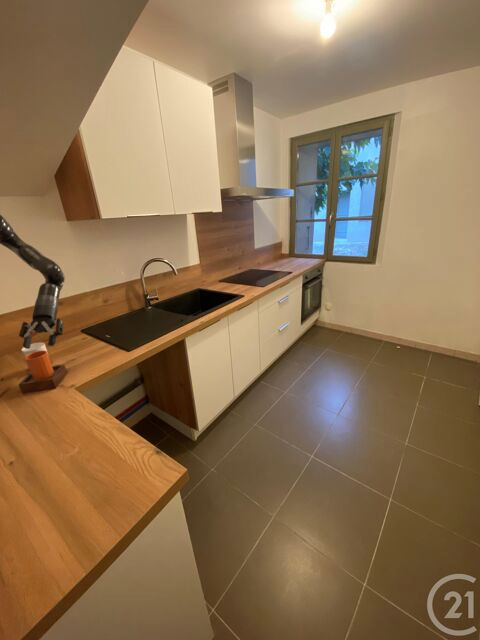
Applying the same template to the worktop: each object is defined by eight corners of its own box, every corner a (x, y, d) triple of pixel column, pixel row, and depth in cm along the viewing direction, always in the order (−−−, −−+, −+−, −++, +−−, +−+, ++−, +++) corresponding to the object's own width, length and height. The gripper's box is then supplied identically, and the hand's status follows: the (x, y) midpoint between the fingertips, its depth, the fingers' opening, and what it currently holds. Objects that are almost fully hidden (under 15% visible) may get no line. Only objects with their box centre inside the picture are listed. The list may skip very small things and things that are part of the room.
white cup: (32, 374, 106) (23, 353, 102) (28, 368, 111) (19, 347, 107) (54, 366, 111) (46, 345, 108) (49, 360, 116) (42, 340, 113)
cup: (29, 382, 95) (20, 360, 92) (38, 372, 102) (30, 352, 98) (49, 379, 97) (41, 357, 93) (57, 369, 103) (49, 349, 99)
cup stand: (22, 393, 94) (18, 384, 93) (37, 377, 104) (34, 368, 103) (55, 388, 96) (52, 379, 94) (67, 372, 106) (64, 364, 105)
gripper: (70, 310, 108) (64, 347, 102) (33, 314, 107) (25, 351, 101) (59, 302, 101) (52, 341, 95) (20, 305, 100) (10, 345, 94)
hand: (38, 346), depth 98 cm, fingers open, 8 cm apart
